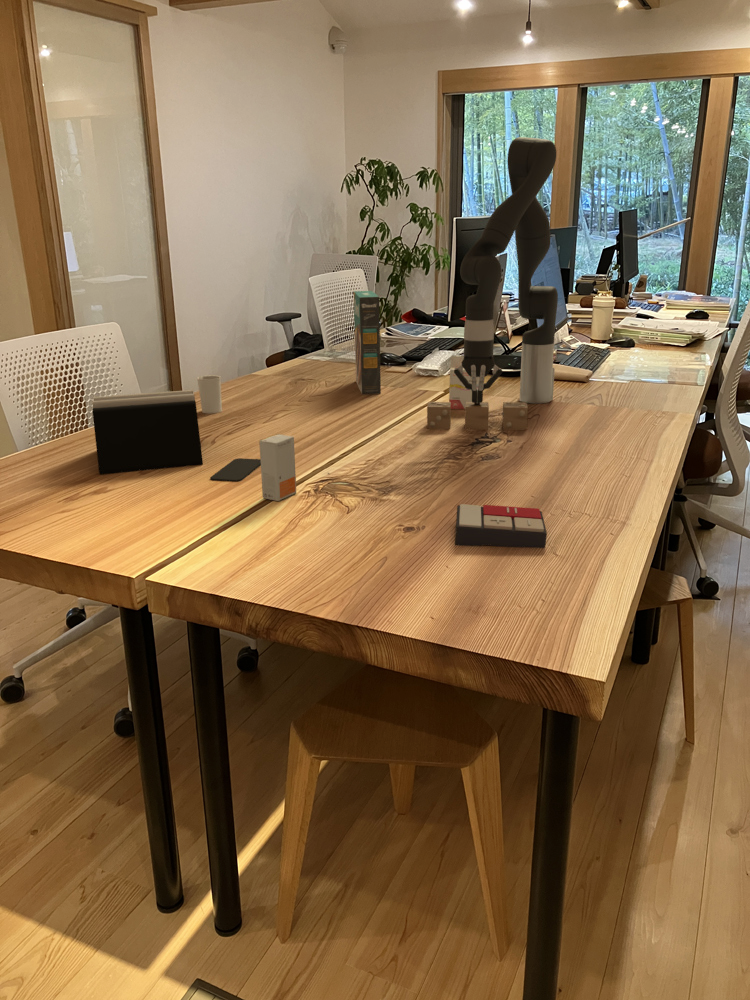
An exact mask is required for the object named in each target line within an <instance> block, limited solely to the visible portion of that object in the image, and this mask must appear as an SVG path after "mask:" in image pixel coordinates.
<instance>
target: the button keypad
mask: <svg viewBox="0 0 750 1000" xmlns="http://www.w3.org/2000/svg"><path fill="white" fill-rule="evenodd" d="M456 507H457V508H456V520H455V537H454V545H455V546H458V547H459V546H461V547H463V546H465V547H466V546H467V547H481V546H491V547H492V546H493V547H503V548H504V547H507V548H530V549H531V548H534V549H544V548H546V544H547V534H548V533H547V528H546V525H545V520H544V516H543V512H542V511H541V510H540V508H535V507H521V506H508V505H507V506H506V505H505V506H504V505H491V504H483V506H481V505H477V504H465V503H462V504H457V506H456Z"/></svg>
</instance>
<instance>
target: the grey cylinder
mask: <svg viewBox="0 0 750 1000" xmlns="http://www.w3.org/2000/svg"><path fill="white" fill-rule="evenodd" d="M221 381H222V380H221V375H209V374H208V375H202V376H197V385H198V391H199V392H198V393H199V398H200V406H201V407H200V408H201V412H202V414H218V413H221V412H223V407H222V382H221Z"/></svg>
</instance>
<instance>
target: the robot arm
mask: <svg viewBox="0 0 750 1000" xmlns="http://www.w3.org/2000/svg"><path fill="white" fill-rule="evenodd" d="M556 161H557V146H556V145H555V143H554V142H553V141H552V140H549V139H545V138H538V137H537V138H536V137H525V136H518V137H516V138H514V139H513V140H512V141H511V143H510V145H509V147H508V152H507V171H508V178H509V185H510V190H511V191H510V192H511V195H509V197H507V198H506V199H505V200H503V202H501V203H500V204H499V205H498V206H497V207H496V208H495V209H494V211H493V212H492V213H491V215H490V216H489V218H488V220H487V223H486V225H485V227H484V229H483V231H482V234H481V235H480V237H479V238H478V240H476V241H475V243H474V244H473V245H472V247H471V248H470V249H469V250H468V252H467V253H466V254H465V255H464V257H463V258H462V259H463V260H462V261H461V265H460V269H459V273H460V277H461V280H462V281H463V282H464V283H465V284H468V285H471V286H472V285H475V286H478V287H477V290H476V294H473V295H472V294H471V295H469V296H468V297H467V298H466V301H465V319H464V321H465V322H464V328H463V356H464V358H463V360H461V362H462V365H460V366H459V367H458V368H455V369H454V373H455V374H456V376H457V377H458V378H459V380H460V381H461V382H462V383H463V385H464V386H465V387H466V388H468V389H471V390H472V403H474V405H480V403H482V402H484V398H483V396H484V390H486V389H487V390H488V389H490V388H491V387H492V386H493V384H494V383H495V382H496V380H497V379H498V378H499V377H500V376H501V375H502V374H503V369H502V368H501V367H499V366H497V365H496V362H495V359H494V347H495V346H494V341H495V340H494V339H495V325H494V311H495V310H494V308H495V307H494V306H495V305H494V304H495V300H496V297H497V293H498V290H499V286H500V283H501V279H502V266H501V263H500V261H499V259H498V258H497V257H495V256H497V255H499V254H500V255H501V254H502V253H504V252H505V251H506V249H507V248H508V246H509V244H510V242H511V239H512V237H513V235H515V237H514V238H515V248H516V257H517V270H518V271H517V273H518V275H517V276H518V277H517V278H518V280H517V282H518V284H517V285H518V286H517V287H518V291H517V293H518V294H517V295H518V297H517V298H518V301H517V303H518V305H517V306H518V312H519V315H520V317H521V318H522V319H525V320H526V319H527V320H543V322H542V324H541V325H540V326H538V327H536V328H534V329H531V330H527V331H525V332H524V333H522V338H521V360H520V362H521V363H520V380H519V381H520V382H519V383H520V384H519V401H520V402H526V403H527V404H545V403H546V404H547V403H550V402H551V401H553V399H554V384H555V367H553V366H554V351H555V332H556V321H557V320H556V319H557V312H558V303H559V294H558V290H557V288H556V287H555V286H550V285H549V286H545V285H544V286H543V285H542V286H539V285H538V286H537V285H534V286H533V285H532V283H531V281H532V278H533V276H534V274H535V272H536V270H537V269H538V267H539V266H540V264H541V263H542V262H543V260H544V259H545V257H546V255H547V254H548V252H549V251H550V247H551V224H550V220H549V216H548V214H547V213H546V211H545V210H544V207H543V206H542V205H541V202H540V201H539V200H538V198H537V197H536V196H537V195H538V193H539V192H540V191H541V189H542V188H543V186H544V185H545V184H546V182H547V180H548V178H549V177H550V175H551V173H552V172H553V170H554V167H555V165H556ZM463 368H464V369H465V371H466V372H467V373H468V375H469V376H470V377H471V378H472V384H471V383H469V382H468V380H467V379H466V378H465V377H464V375H463V373H464V371H463ZM491 371H492V375H491V376H490V378H489V379H488V380H487V381H486V382H485V377H487V376H488V375H489V374H490V372H491ZM476 377H479V386H478V392H477V383H476Z"/></svg>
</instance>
